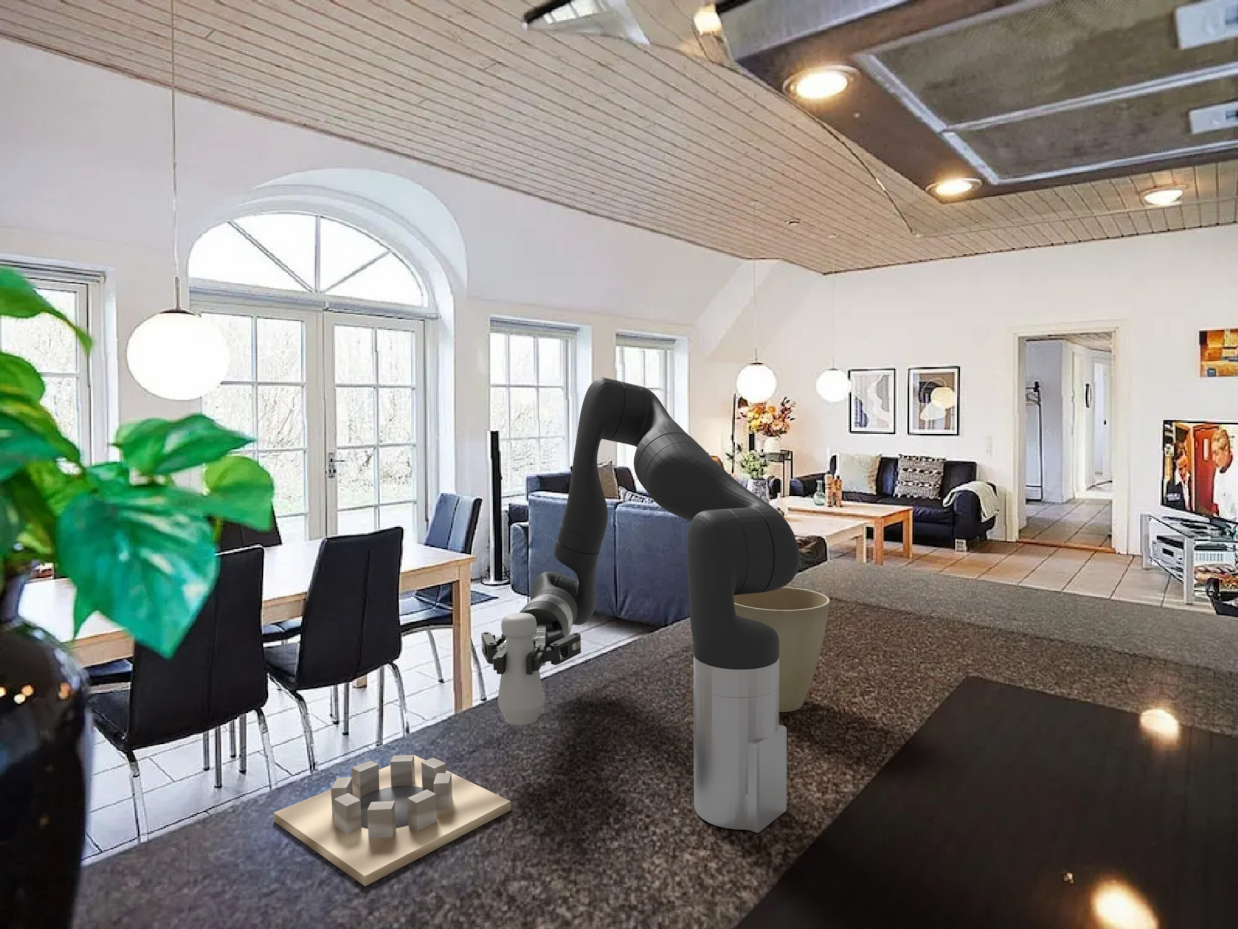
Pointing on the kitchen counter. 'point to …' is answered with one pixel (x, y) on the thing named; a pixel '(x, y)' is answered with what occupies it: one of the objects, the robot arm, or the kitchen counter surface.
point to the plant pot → (790, 635)
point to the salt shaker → (519, 672)
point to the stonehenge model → (390, 815)
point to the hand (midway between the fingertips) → (514, 666)
